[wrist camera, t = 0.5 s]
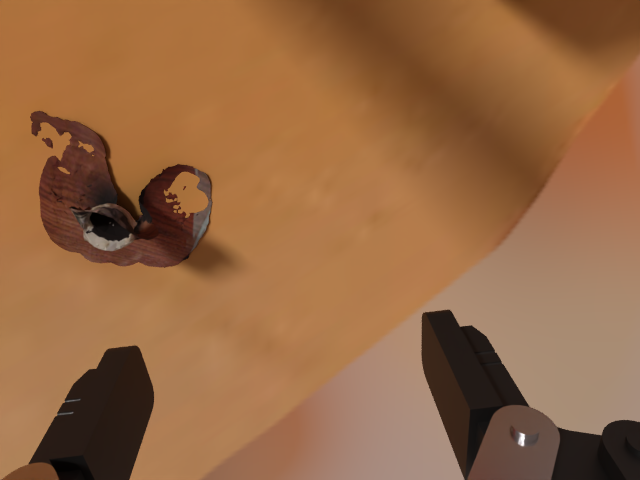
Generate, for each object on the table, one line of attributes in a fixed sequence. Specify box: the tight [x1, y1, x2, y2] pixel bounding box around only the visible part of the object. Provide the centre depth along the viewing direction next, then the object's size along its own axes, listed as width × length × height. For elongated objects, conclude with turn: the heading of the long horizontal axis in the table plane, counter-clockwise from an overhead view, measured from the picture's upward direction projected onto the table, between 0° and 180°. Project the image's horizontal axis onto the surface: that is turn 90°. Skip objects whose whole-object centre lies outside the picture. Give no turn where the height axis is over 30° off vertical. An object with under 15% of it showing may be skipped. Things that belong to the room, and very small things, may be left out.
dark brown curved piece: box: [30, 111, 212, 268], centre depth 36 cm, size 11×12×15 cm
